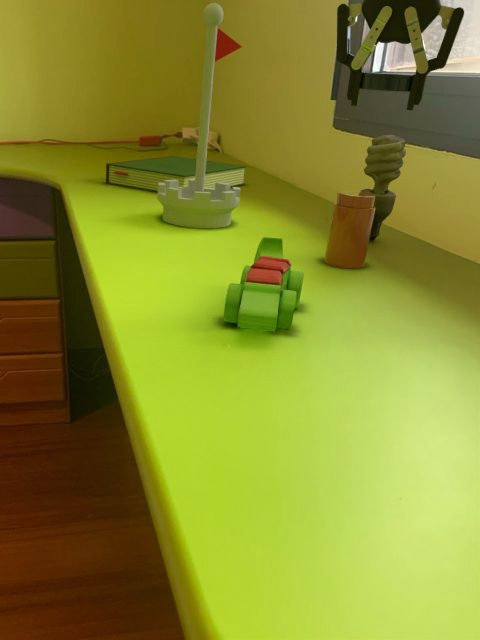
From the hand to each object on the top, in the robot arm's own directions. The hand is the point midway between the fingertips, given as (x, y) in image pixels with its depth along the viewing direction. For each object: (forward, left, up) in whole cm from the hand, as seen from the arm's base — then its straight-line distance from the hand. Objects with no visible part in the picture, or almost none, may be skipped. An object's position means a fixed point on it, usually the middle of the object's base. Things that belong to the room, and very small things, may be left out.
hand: (382, 107), depth 82 cm
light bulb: (-6, -16, -19) cm, 26 cm away
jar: (+1, -1, -19) cm, 19 cm away
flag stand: (+20, -23, -19) cm, 36 cm away
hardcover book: (+23, -60, -19) cm, 67 cm away
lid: (0, 0, +3) cm, 3 cm away
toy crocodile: (+15, +23, -19) cm, 33 cm away
